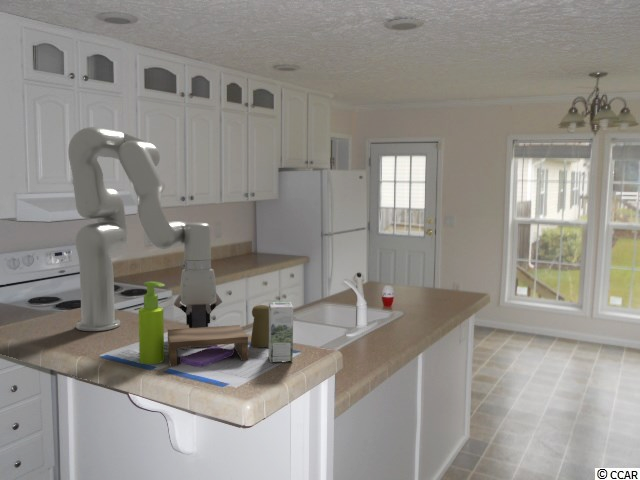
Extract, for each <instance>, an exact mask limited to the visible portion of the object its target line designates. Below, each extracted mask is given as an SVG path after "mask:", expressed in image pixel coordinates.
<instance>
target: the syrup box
mask: <svg viewBox="0 0 640 480" xmlns="http://www.w3.org/2000/svg"><path fill="white" fill-rule="evenodd" d="M268 307H269V347H268V358H269V362H270V364H273V363H272V362H282V361H294V360H293V359H294V358H293V356H294V355H293V354H294V352H293V351H294V348H293V347H294V306H293V304H292V302H291V301H285V302H284V301H283V302H282V301H277V302H275V301H274V302H269V303H268ZM282 363H283V362H282Z"/></svg>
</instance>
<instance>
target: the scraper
mask: <svg viewBox="0 0 640 480" xmlns="http://www.w3.org/2000/svg"><path fill="white" fill-rule="evenodd" d="M191 315H192V328H202V327H206V304H202V305H192V306H191ZM213 346H215V347H218V345H209V346H196V347H190V348H191V349H194V348H207V347H208V348H210V347H213Z"/></svg>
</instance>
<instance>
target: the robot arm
mask: <svg viewBox="0 0 640 480" xmlns="http://www.w3.org/2000/svg"><path fill="white" fill-rule="evenodd" d="M67 151H68V154H67V155H68V161H69V166H70V169H71V174H72V175H71V176H72V185H73V193H74V199H75V200H74V201H75V207H76V211H77V213H78V215H79V216H80V217H82V218H84V219H89V220H95V219H96V220H97V222H93V223H88V224H87V225H83V227H81V228H80V229H78V231H77V233H76V234H75V240H74V241H75V248H76V252H77V255H78V256H77V257H78V265H79V282H80V283H79V284H80V285H79V286H80V309H81V310H80V312H81V314H80V317H81V320H80V321H79V322H77V323H76V324H75V328H76V329H77V330H79V331H82V332H101V331H107V330H108V331H109V330H112V329H116V328H119V326H120V325H121V320H120V319H118V318H115V317H116V316H115V315H116V313H115V312H116V311H115V307H116V306H115V284H114V283H115V280H114V279H115V277H114V275H115V274H114V273H115V272H114V266H113V265H114V264H113V261H112V257H111V255H110V253H114V252H117V251H119V250H121V249H122V248H123V247H124V246H125V245H126V244H127V240H128V227H127V220H126V211H125V204H124V200H123V198H122V195H121V194H120V193H119V192H118V190H117V189H115V188H112V187H108V186H105V181H104V174H103V170H102V167H101V165H100V163H99V161H98V158H100V157H102V158H111V159H112V158H113V159H116V160H119V162H120V165H121V166H122V169H123V170H124V173H125V175H126V176H127V179H128V181H129V183H130V184H131V186H132V189H133V191H134V192H135V194H136V196H137V211H138V217H139V222H140V223H141V226H142V228H143V230H144V232H145V234H146V236H147V237H148V239H149V241H150V242H151V244H152V245H154V247H156V248H158V249H160V250H167V249H168V250H169V249H171V248H176V247H180V246H183V247H184V256H183V257H184V259H183V261H179V262H178V263H179V267H182V268H184V269H182V270H181V276H180V285H179V294H178V296H177V297H176V298H175V300H174V301H173V305H174V306H175V307H176V308H178V309H180V310H181V311H182V312H183V313H184V314H185V315H186V316H185V319H186V321H185V322H186V326H188V328H192V315H191V306H192V305H202V304H206V327H209V324H211V313H212V312H213V311H214V310H215V308H217V306H219V305H221V304H222V303H223V300H222V299H221V297H220V296H219V295H218V293H217V284H216V283H217V282H216V274H215V270H214V269H213V268H212V261H211V260H212V251H211V250H212V243H211V242H212V239H211V238H212V236H211V234H212V233H211V232H212V231H211V225H210V224H209V223H207V222H188V221H181V220H174V221H173V220H172V221H168V219H167V217H166V216H165V213H164V211H163V209H162V204H161V203H162V202H161V198H162V194H163V192H164V191H165V188H166V185H165V183H164V180H163V178H162V177H161V175H160V172H159V170H158V169H157V166H158V165H159V163H160V159H161V155H160V152H159V149H158V148H157V147H156V146H155V145H154V144H153V143H151V142H149V141H147V140H143V139H141V138H138V137H135V136H133V135H130V134H128V133H125V132H123V131H120V130H116V129H111V128H104V127H99V126H89V127H83V128H82V129H80V130H78V131H77V132H76V133H74V134H73V136H72V138H71V139H70V141H69V144H68V149H67Z"/></svg>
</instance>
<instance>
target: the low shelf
mask: <svg viewBox="0 0 640 480" xmlns="http://www.w3.org/2000/svg"><path fill="white" fill-rule="evenodd" d="M209 345H217V346H219V345H221V346H222V345H234V346H233V348H234V350H236V352H237V355H238V356H239V358H240V359H241V361H248V360H249V336H248V335H247V334H246V332H245V331H244V329H243V328H242V326H241V325H240V324H238V325H237V324H236V325H235V324H234V325H233V324H232V325H219V326H218V325H217V326H208V327H202V328H189V327H187V328H176V329H175V328H174V329H167V353H168V354H167V355H168V359H169V365H170V367H176V366H178V360H177V359H178V358H177V357H178V354H177V353H178V349H181V348H191V347H196V346H209ZM209 347H210V346H209ZM196 348H197V347H196Z"/></svg>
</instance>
